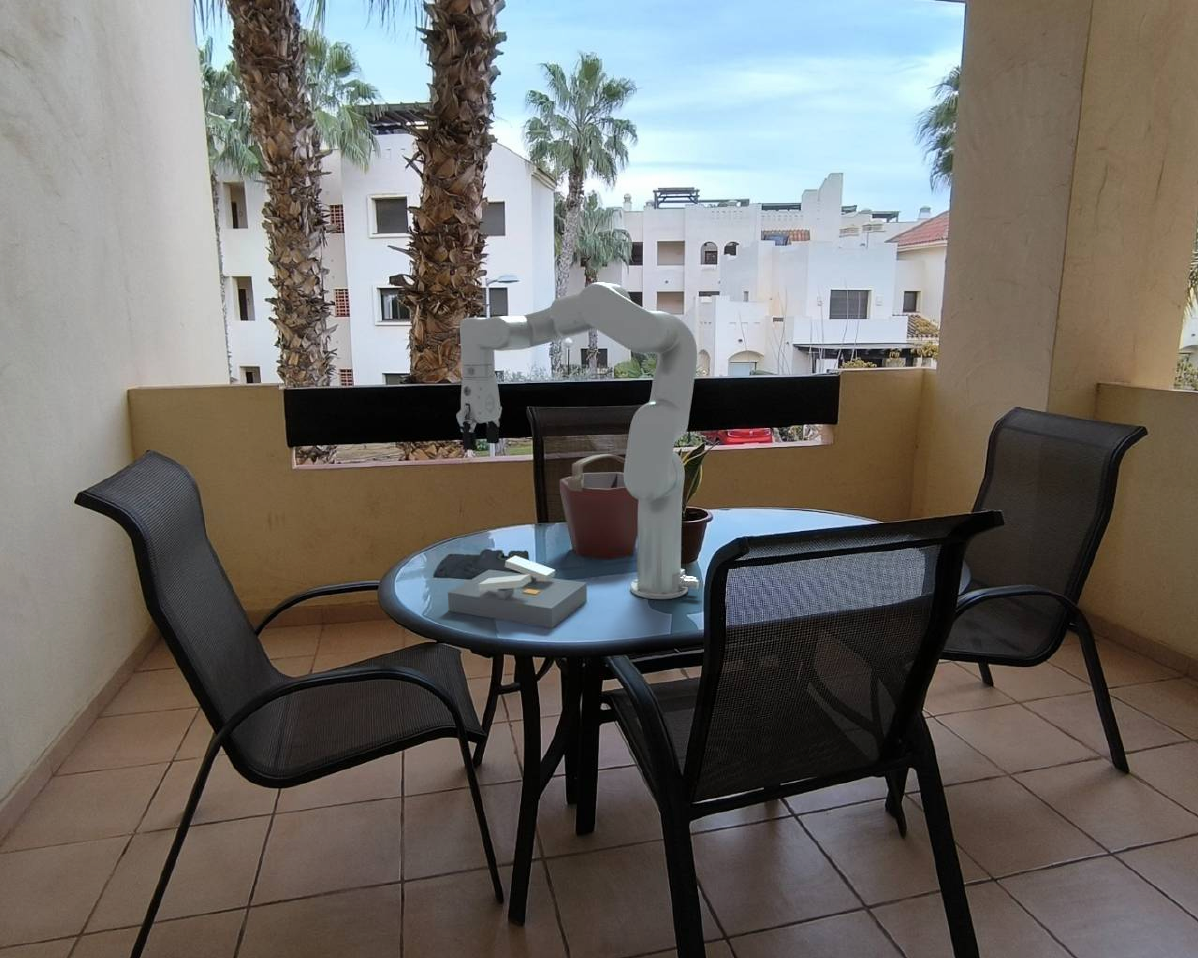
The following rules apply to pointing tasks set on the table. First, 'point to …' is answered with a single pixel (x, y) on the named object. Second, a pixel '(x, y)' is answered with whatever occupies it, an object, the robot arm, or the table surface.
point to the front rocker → (504, 582)
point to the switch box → (519, 599)
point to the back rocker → (530, 568)
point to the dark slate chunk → (475, 564)
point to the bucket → (599, 512)
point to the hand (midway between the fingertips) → (481, 446)
